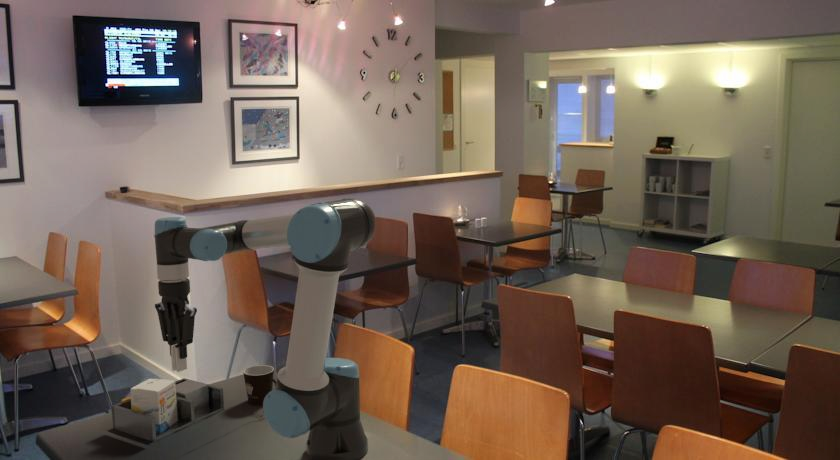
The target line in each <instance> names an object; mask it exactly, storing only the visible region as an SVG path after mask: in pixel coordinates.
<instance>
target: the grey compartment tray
mask: <svg viewBox="0 0 840 460" xmlns="http://www.w3.org/2000/svg"><path fill="white" fill-rule="evenodd" d="M187 380H191V381H195V382H199V383H202V384H206V385H208V394H209V409H207V410H205V411H203V412H201V413H198V414H196V415H194V401H193V400H189V399H185V398H182V397H178V396H176V400H177V415H178V421H177V422H176V423H174V424H173V425H172V426H170V427H169V428H167V429H166V430H165V431H163V432H162V433H160V434H159V433H156V427H155V417H153V416H150V415H146V414H143V413H140V412H137V411H133V410H132V408H131V395H130V396H127V397H125V398H122V399H121V402H119V403H116V404H113V405H111V417H112V429H113V430H116V431H120V432H123V433H126V434H128V435H131V436H135V437H138V438H140V439H142V440H143V439H144V440H147V441H149V442H152V443H154V442H156V441H158V440H161V439H162V438H166V437H167V436H170V435H171V434H173V433H176V432H178V431H181V430H182V429H185V428H186V427H189V426H192V425H194V424H196V423H198V422H200V421H202V420H204V419H207V418H208V417H211V416H213V415H215V414H218V413H220V412H222V411H224V410H225V401H224V400H225V399H224V388H223V387H219V386H215V385H211V384H208V383H204V382H200V381H196V380H193V379H188V378H185V377H183V378H181V379H178V380H174V381H175V385H177V384H179V383H182V382H184V381H187Z"/></svg>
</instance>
